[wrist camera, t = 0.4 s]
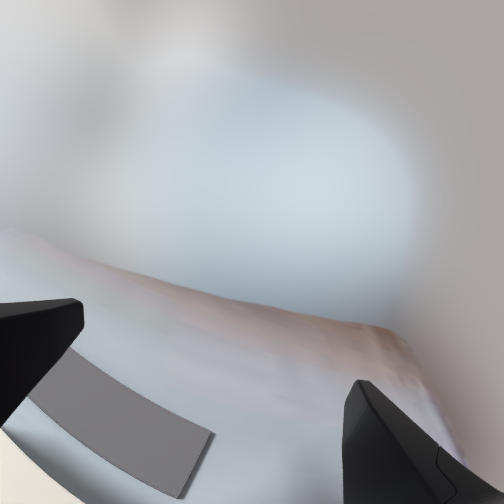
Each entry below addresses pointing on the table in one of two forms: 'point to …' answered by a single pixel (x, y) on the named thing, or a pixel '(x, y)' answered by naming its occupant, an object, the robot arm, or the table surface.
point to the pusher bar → (27, 479)
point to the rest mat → (120, 423)
